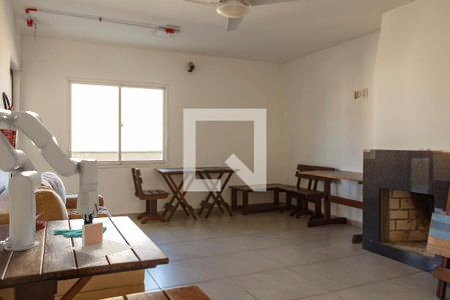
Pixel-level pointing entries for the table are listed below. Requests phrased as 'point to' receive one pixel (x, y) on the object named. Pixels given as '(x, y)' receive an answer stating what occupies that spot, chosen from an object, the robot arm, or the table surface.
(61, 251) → the table surface
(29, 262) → the table surface
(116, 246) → the mat
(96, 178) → the robot arm
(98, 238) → the tile
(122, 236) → the table surface
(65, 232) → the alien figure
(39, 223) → the canned food
